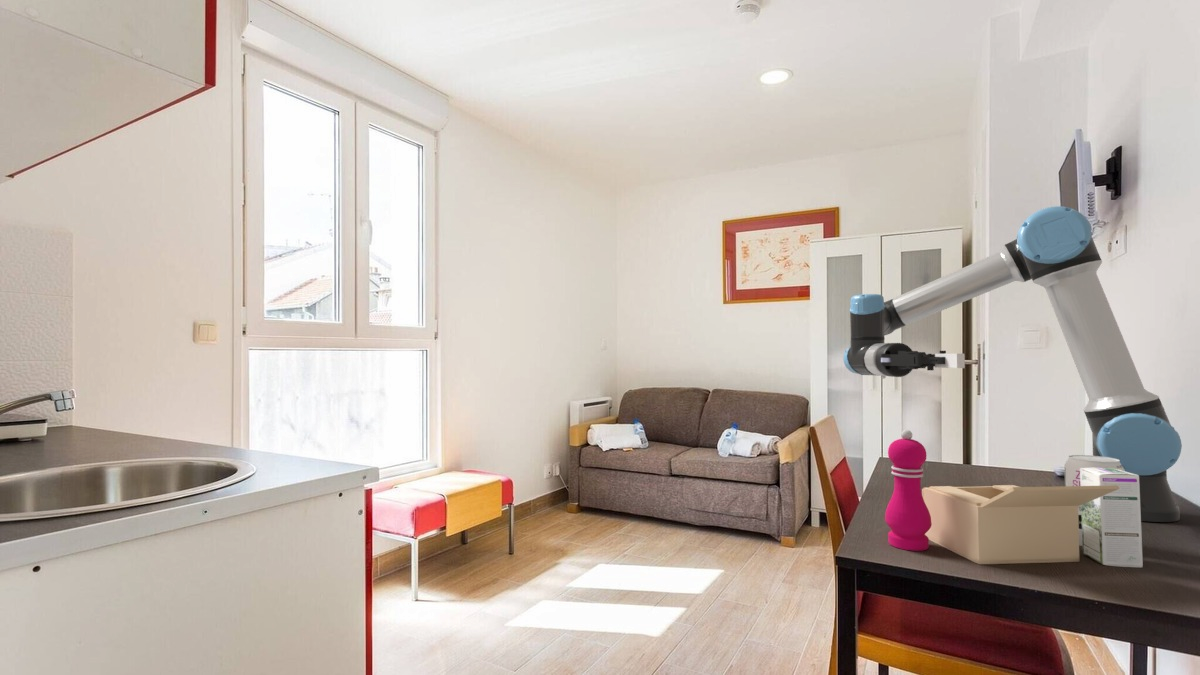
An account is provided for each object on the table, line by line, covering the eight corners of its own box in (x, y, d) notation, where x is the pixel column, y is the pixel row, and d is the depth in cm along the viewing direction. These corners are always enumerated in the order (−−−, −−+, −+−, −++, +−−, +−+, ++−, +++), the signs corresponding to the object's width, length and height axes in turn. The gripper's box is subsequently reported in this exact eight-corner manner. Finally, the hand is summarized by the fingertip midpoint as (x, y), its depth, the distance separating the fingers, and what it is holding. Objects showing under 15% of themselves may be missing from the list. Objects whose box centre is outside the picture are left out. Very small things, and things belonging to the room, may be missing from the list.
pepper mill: (878, 538, 108) (876, 427, 109) (918, 539, 108) (917, 427, 108) (896, 551, 101) (895, 432, 101) (940, 552, 101) (938, 432, 101)
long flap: (1078, 502, 96) (1117, 485, 89) (1080, 505, 96) (1119, 488, 89) (980, 504, 95) (1012, 487, 88) (981, 507, 95) (1014, 490, 88)
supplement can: (1112, 540, 108) (1110, 455, 108) (1136, 554, 100) (1134, 463, 100) (1058, 535, 110) (1056, 453, 111) (1077, 549, 102) (1075, 460, 103)
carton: (1009, 534, 111) (1008, 482, 111) (1079, 561, 96) (1078, 502, 96) (921, 536, 110) (920, 484, 110) (978, 564, 95) (977, 504, 95)
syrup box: (1144, 568, 93) (1142, 474, 94) (1101, 565, 94) (1099, 472, 95) (1121, 556, 99) (1118, 467, 99) (1080, 553, 100) (1078, 466, 100)
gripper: (917, 376, 136) (994, 380, 112) (862, 376, 135) (927, 381, 111) (917, 343, 136) (993, 340, 112) (862, 343, 135) (927, 340, 111)
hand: (960, 360), depth 112 cm, fingers closed
